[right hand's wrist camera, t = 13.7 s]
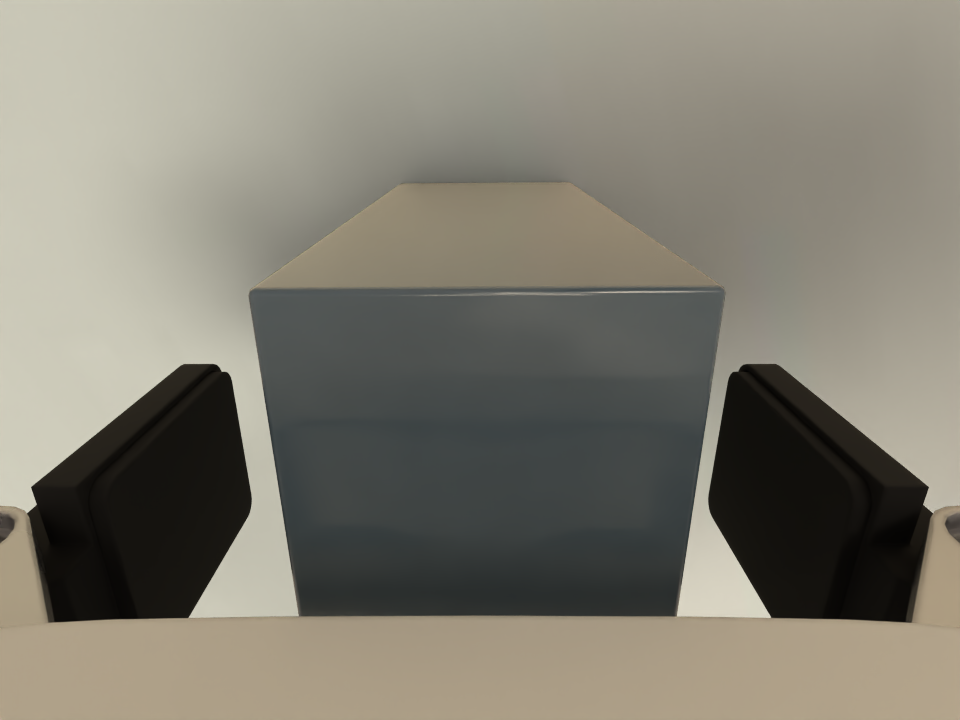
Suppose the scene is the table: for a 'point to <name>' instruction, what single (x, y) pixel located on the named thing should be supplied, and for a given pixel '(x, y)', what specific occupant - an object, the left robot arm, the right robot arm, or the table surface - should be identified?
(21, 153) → the table surface
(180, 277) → the table surface
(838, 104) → the table surface
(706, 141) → the table surface
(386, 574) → the brick
